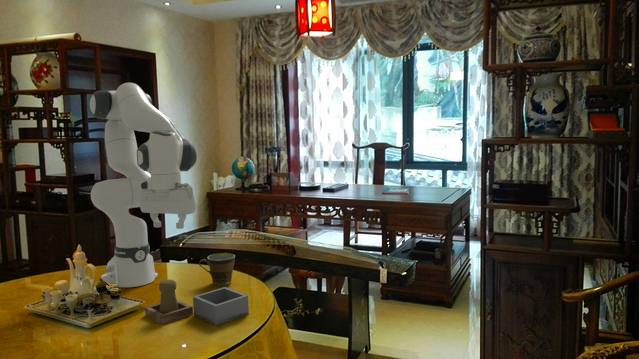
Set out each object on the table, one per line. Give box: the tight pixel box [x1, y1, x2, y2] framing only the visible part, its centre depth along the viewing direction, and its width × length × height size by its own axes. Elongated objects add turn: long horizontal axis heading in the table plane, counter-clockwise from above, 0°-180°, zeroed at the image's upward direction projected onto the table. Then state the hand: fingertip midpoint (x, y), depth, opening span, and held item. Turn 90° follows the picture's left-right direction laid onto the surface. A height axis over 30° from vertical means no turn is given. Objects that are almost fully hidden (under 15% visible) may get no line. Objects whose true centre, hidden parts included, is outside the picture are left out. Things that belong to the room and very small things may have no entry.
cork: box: [158, 279, 178, 314], centre depth 160 cm, size 6×6×11 cm
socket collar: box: [144, 299, 194, 325], centre depth 160 cm, size 10×10×2 cm
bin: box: [192, 286, 250, 327], centre depth 160 cm, size 12×12×6 cm
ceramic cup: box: [198, 252, 236, 287], centre depth 189 cm, size 13×10×10 cm
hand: (168, 227), depth 159 cm, fingers open, 8 cm apart
